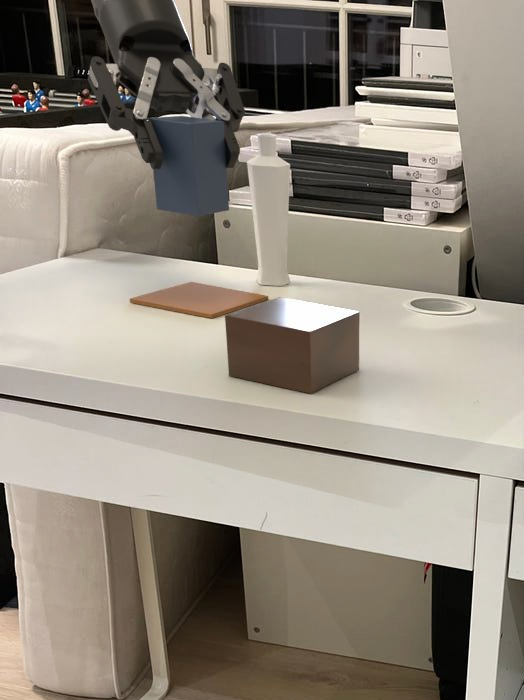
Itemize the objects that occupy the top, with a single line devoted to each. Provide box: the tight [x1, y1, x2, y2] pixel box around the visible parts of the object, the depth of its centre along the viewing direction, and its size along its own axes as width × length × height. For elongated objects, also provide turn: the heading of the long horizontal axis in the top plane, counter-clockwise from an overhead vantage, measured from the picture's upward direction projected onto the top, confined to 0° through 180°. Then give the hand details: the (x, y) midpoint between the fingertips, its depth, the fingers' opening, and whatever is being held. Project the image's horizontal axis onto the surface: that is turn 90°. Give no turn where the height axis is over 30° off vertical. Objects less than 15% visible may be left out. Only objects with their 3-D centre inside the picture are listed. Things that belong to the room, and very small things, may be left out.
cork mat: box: [129, 281, 269, 319], centre depth 102 cm, size 10×10×1 cm
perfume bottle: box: [246, 133, 291, 287], centre depth 107 cm, size 5×4×15 cm
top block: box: [147, 115, 230, 217], centre depth 95 cm, size 5×5×8 cm
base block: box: [224, 296, 360, 395], centre depth 82 cm, size 8×8×5 cm
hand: (196, 162), depth 94 cm, fingers closed on top block, 7 cm apart
